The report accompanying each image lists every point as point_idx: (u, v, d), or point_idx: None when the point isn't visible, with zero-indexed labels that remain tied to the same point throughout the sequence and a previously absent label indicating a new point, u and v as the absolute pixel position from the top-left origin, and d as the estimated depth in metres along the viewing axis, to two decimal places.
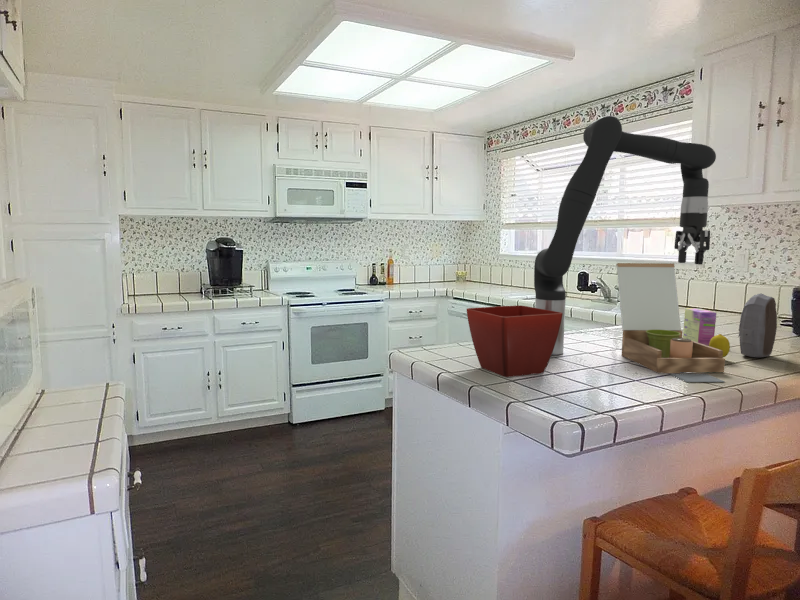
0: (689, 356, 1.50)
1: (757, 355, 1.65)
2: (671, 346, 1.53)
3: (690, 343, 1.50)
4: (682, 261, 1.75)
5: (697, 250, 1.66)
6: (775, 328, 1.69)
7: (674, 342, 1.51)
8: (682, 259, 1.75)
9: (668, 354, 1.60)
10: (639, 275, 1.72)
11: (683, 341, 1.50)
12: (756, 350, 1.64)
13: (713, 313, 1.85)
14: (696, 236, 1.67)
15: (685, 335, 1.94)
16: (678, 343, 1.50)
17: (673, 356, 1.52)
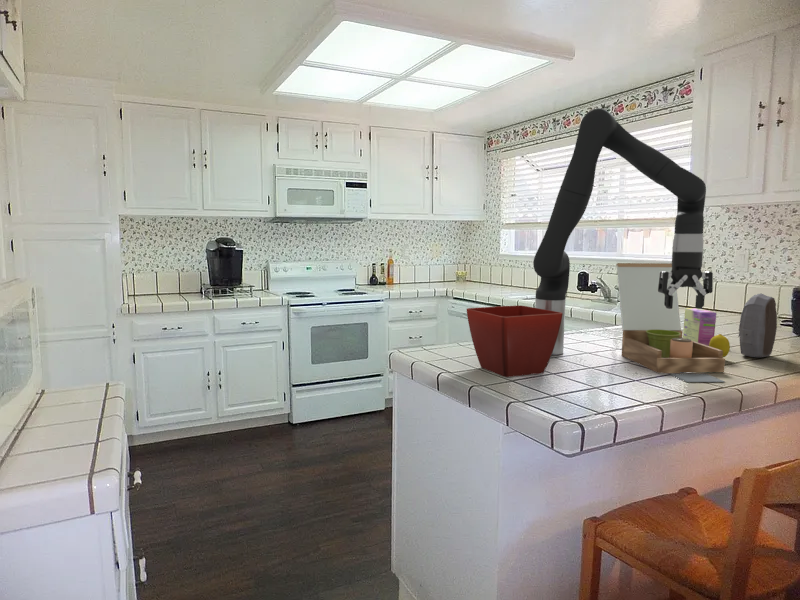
0: (689, 356, 1.50)
1: (757, 355, 1.65)
2: (671, 346, 1.53)
3: (690, 343, 1.50)
4: None
5: (704, 293, 1.50)
6: (775, 328, 1.69)
7: (674, 342, 1.51)
8: None
9: (668, 354, 1.60)
10: (639, 275, 1.72)
11: (683, 341, 1.50)
12: (756, 350, 1.64)
13: (713, 313, 1.85)
14: None
15: (685, 335, 1.94)
16: (678, 343, 1.50)
17: (673, 356, 1.52)
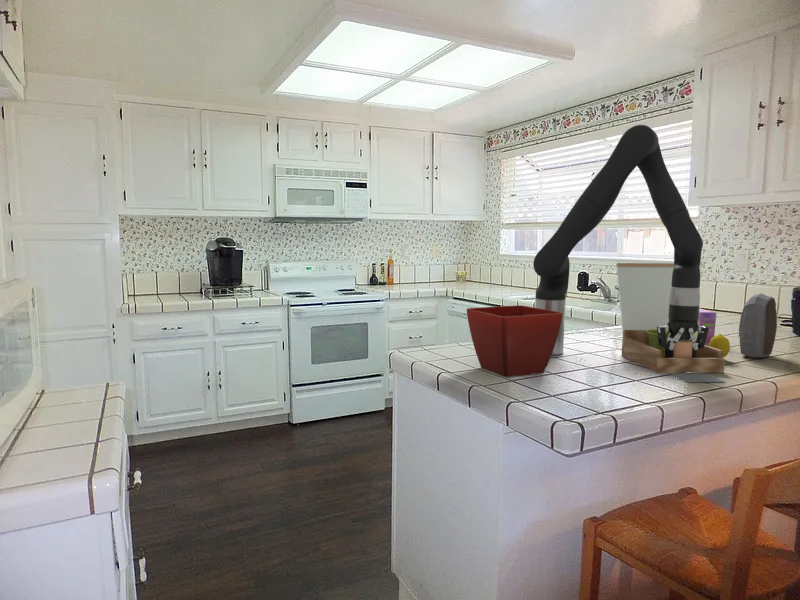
0: (689, 356, 1.50)
1: (757, 355, 1.65)
2: None
3: (690, 343, 1.50)
4: None
5: (696, 348, 1.51)
6: (775, 328, 1.69)
7: None
8: None
9: None
10: (639, 275, 1.72)
11: (683, 341, 1.50)
12: (756, 350, 1.64)
13: (713, 313, 1.85)
14: None
15: None
16: (678, 343, 1.50)
17: (673, 356, 1.52)
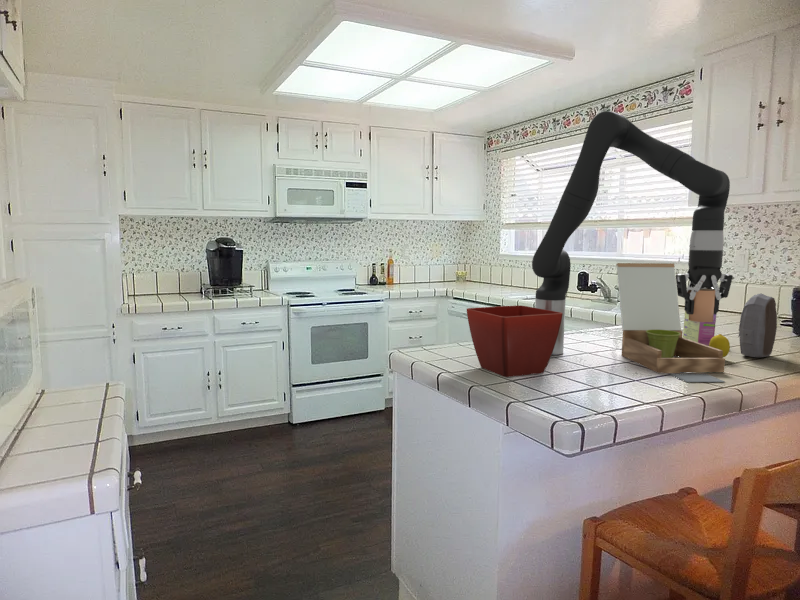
0: (711, 306, 1.37)
1: (757, 355, 1.65)
2: None
3: (713, 292, 1.37)
4: None
5: (719, 298, 1.38)
6: (775, 328, 1.69)
7: None
8: None
9: (668, 354, 1.60)
10: (639, 275, 1.72)
11: (705, 290, 1.37)
12: (756, 350, 1.64)
13: None
14: None
15: (685, 335, 1.94)
16: (699, 292, 1.37)
17: (694, 307, 1.39)
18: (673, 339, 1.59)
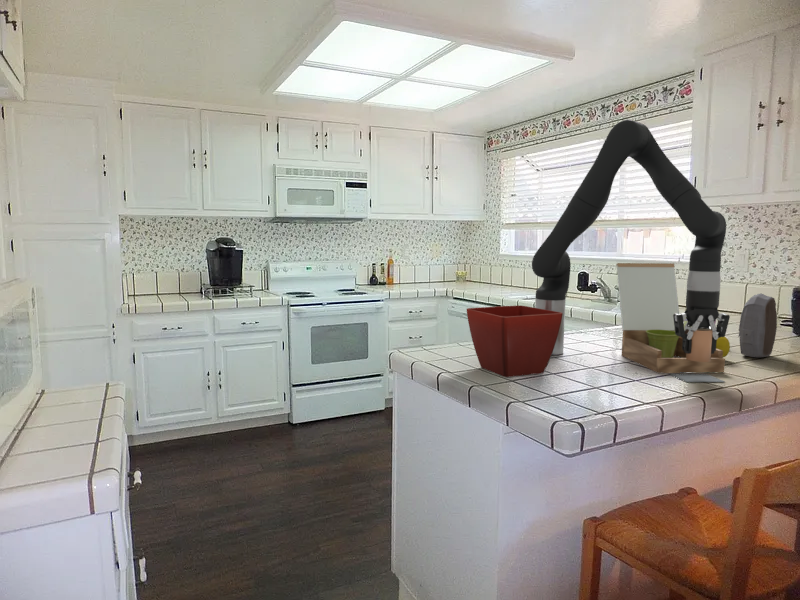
0: (709, 346, 1.38)
1: (757, 355, 1.65)
2: None
3: (710, 332, 1.38)
4: None
5: (716, 337, 1.39)
6: (775, 328, 1.69)
7: None
8: None
9: (668, 354, 1.60)
10: (639, 275, 1.72)
11: (702, 330, 1.38)
12: (756, 350, 1.64)
13: None
14: None
15: None
16: (697, 332, 1.38)
17: (691, 346, 1.40)
18: (673, 339, 1.59)
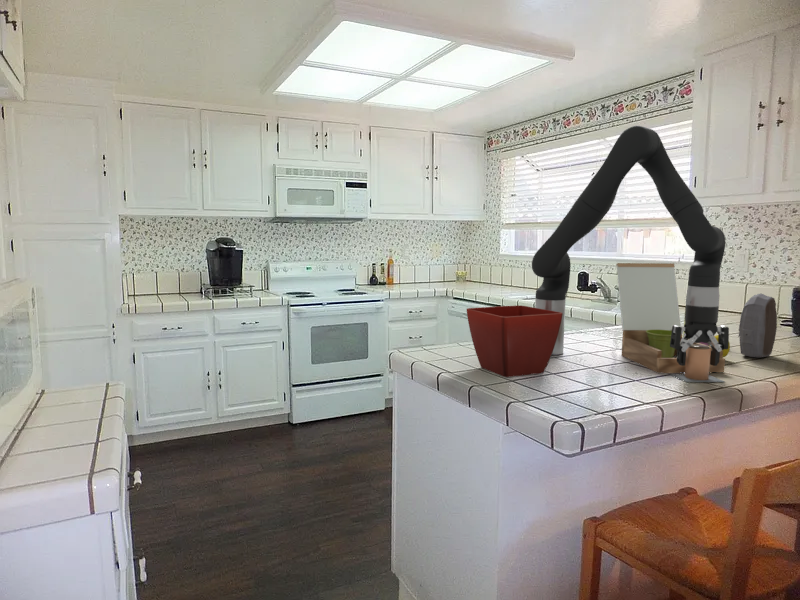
0: (707, 364, 1.39)
1: (757, 355, 1.65)
2: (687, 353, 1.41)
3: (708, 350, 1.38)
4: None
5: (720, 350, 1.40)
6: (775, 328, 1.69)
7: (691, 349, 1.40)
8: None
9: (668, 354, 1.60)
10: (639, 275, 1.72)
11: (700, 348, 1.39)
12: (756, 350, 1.64)
13: None
14: (715, 333, 1.40)
15: None
16: (695, 350, 1.39)
17: (689, 364, 1.40)
18: None
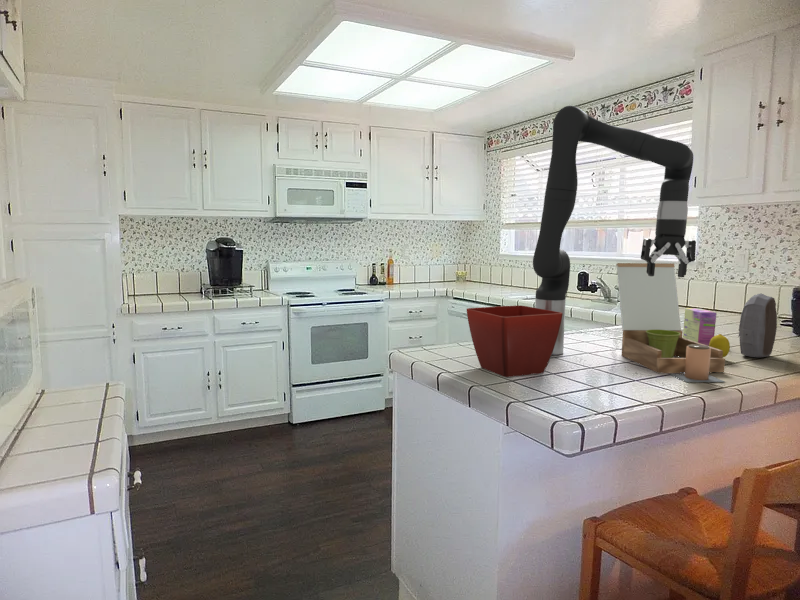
0: (707, 364, 1.39)
1: (757, 355, 1.65)
2: (687, 353, 1.41)
3: (708, 350, 1.38)
4: None
5: (687, 262, 1.50)
6: (775, 328, 1.69)
7: (691, 349, 1.40)
8: None
9: (668, 354, 1.60)
10: (639, 275, 1.72)
11: (700, 348, 1.39)
12: (756, 350, 1.64)
13: (713, 313, 1.85)
14: None
15: (685, 335, 1.94)
16: (695, 350, 1.39)
17: (689, 364, 1.40)
18: (673, 339, 1.59)
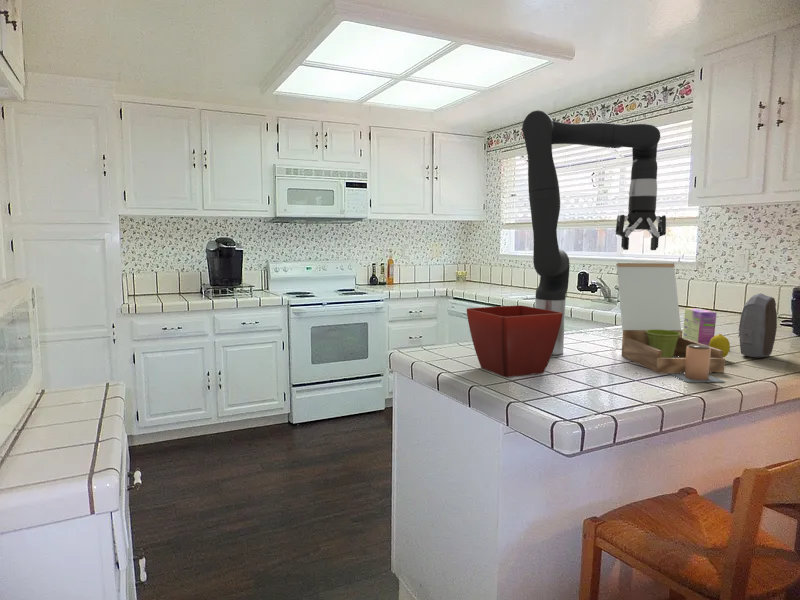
0: (707, 364, 1.39)
1: (757, 355, 1.65)
2: (687, 353, 1.41)
3: (708, 350, 1.38)
4: None
5: (658, 235, 1.61)
6: (775, 328, 1.69)
7: (691, 349, 1.40)
8: None
9: (668, 354, 1.60)
10: (639, 275, 1.72)
11: (700, 348, 1.39)
12: (756, 350, 1.64)
13: (713, 313, 1.85)
14: (654, 221, 1.61)
15: (685, 335, 1.94)
16: (695, 350, 1.39)
17: (689, 364, 1.40)
18: (673, 339, 1.59)
